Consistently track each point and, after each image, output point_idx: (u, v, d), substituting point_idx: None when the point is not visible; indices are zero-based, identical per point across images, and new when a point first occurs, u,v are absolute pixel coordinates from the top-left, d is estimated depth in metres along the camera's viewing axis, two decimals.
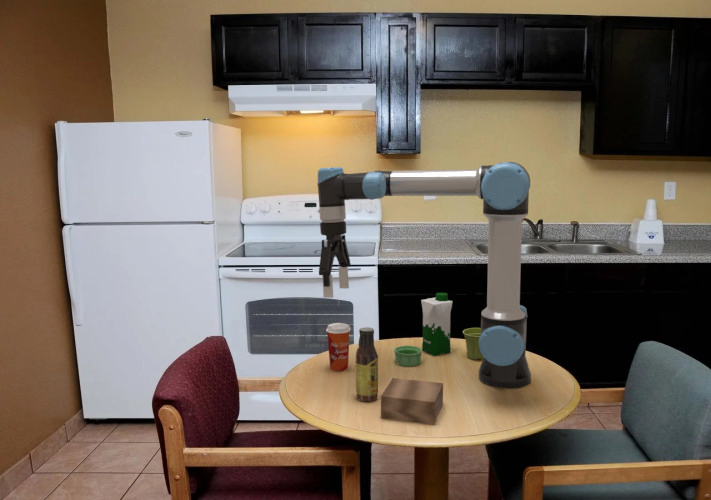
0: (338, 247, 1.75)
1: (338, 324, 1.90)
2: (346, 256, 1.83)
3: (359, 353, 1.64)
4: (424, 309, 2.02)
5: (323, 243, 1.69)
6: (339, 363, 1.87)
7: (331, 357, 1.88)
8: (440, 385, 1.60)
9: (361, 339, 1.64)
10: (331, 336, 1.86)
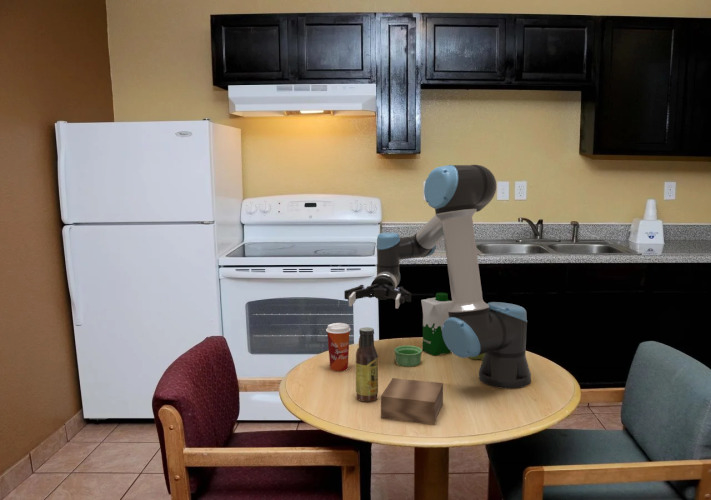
0: (382, 288, 1.85)
1: (338, 324, 1.90)
2: None
3: (359, 353, 1.64)
4: (424, 309, 2.02)
5: None
6: (339, 363, 1.87)
7: (331, 357, 1.88)
8: (440, 385, 1.60)
9: (361, 339, 1.64)
10: (331, 336, 1.86)
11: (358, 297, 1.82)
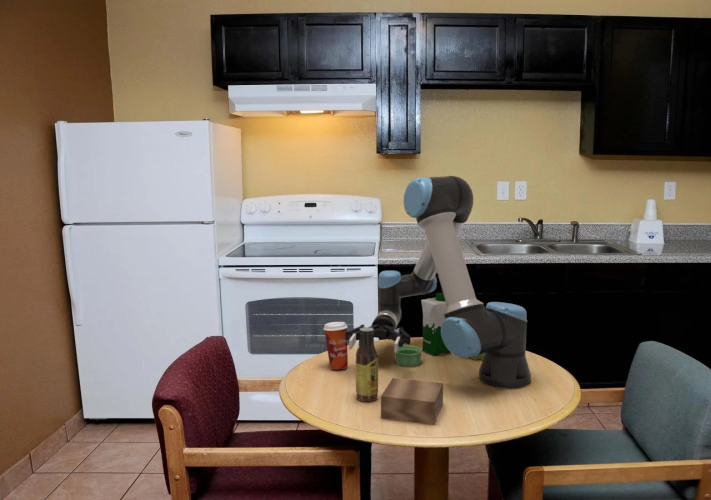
0: (382, 329, 1.88)
1: (335, 323, 1.91)
2: (403, 335, 1.83)
3: (359, 353, 1.64)
4: (424, 309, 2.02)
5: None
6: (339, 360, 1.88)
7: (330, 355, 1.88)
8: (440, 385, 1.60)
9: (361, 339, 1.64)
10: (328, 334, 1.87)
11: (358, 338, 1.85)
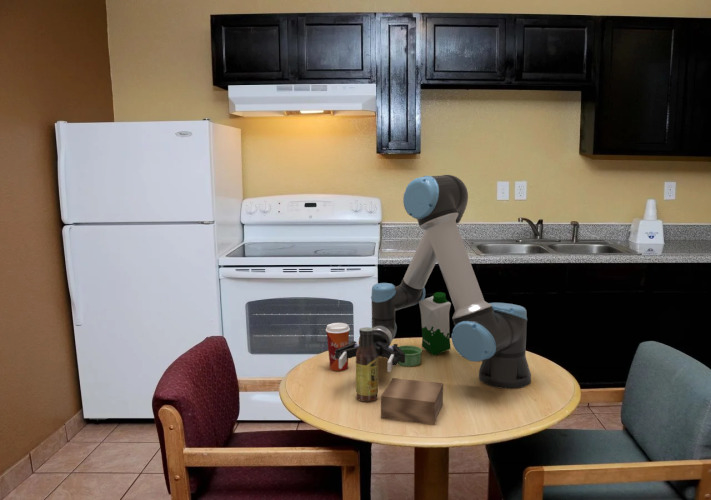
0: (375, 346, 1.76)
1: (337, 324, 1.90)
2: (398, 352, 1.71)
3: (359, 353, 1.64)
4: (422, 312, 1.98)
5: None
6: None
7: (331, 357, 1.88)
8: (440, 385, 1.60)
9: (361, 339, 1.64)
10: (330, 336, 1.86)
11: (350, 356, 1.73)
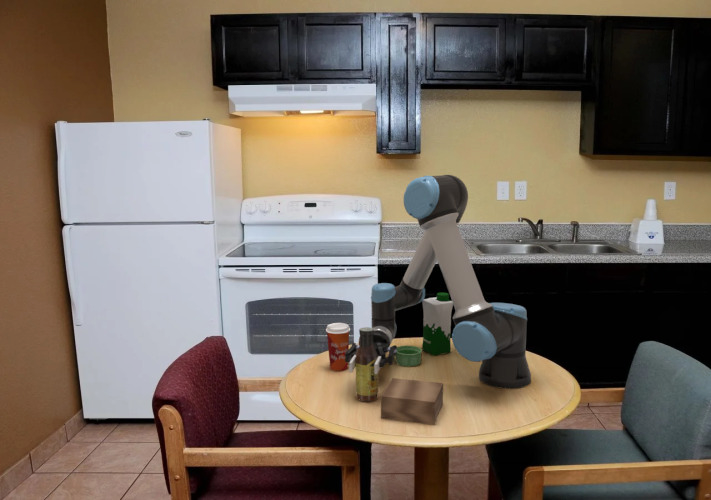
0: (375, 346, 1.75)
1: (337, 324, 1.90)
2: None
3: (359, 353, 1.64)
4: (425, 309, 2.02)
5: None
6: (340, 363, 1.87)
7: (331, 357, 1.88)
8: (440, 385, 1.60)
9: (361, 339, 1.64)
10: (331, 336, 1.86)
11: None
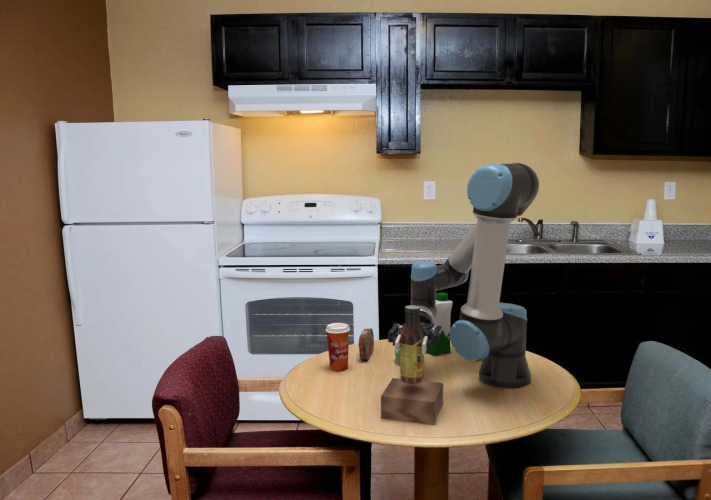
0: None
1: (337, 324, 1.90)
2: (434, 334, 1.59)
3: (405, 332, 1.54)
4: None
5: None
6: (340, 362, 1.87)
7: (331, 357, 1.88)
8: (440, 385, 1.60)
9: (407, 317, 1.54)
10: (331, 336, 1.86)
11: None
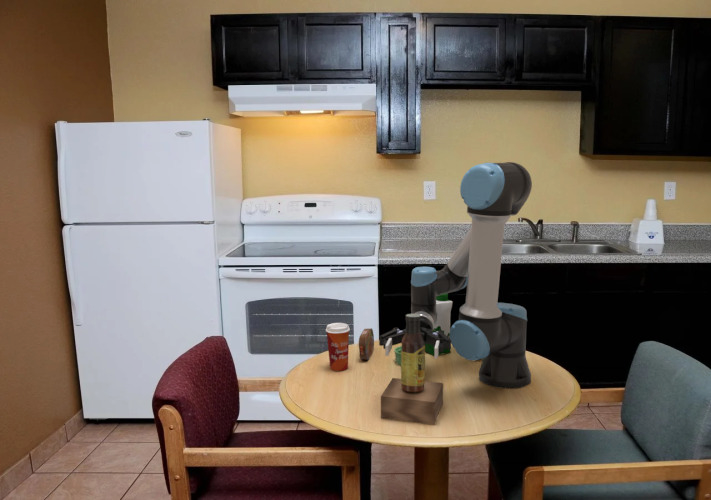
0: None
1: (337, 324, 1.90)
2: (443, 338, 1.60)
3: (405, 340, 1.55)
4: None
5: None
6: (340, 362, 1.87)
7: (331, 357, 1.88)
8: (440, 385, 1.60)
9: (407, 326, 1.55)
10: (331, 336, 1.86)
11: (394, 343, 1.62)
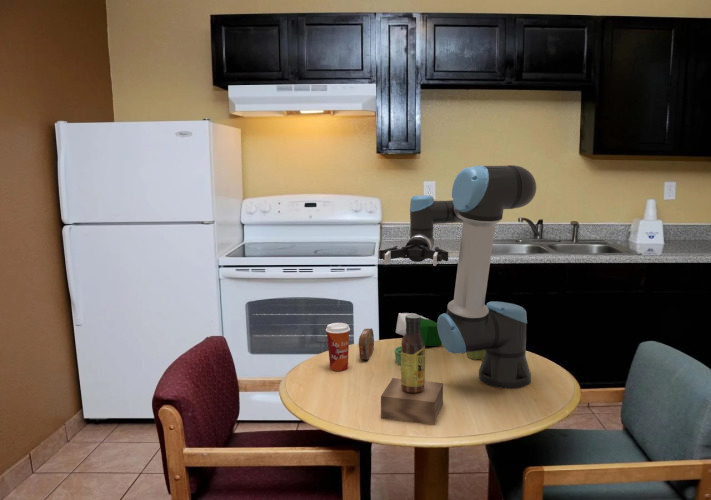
0: (417, 248, 1.79)
1: (337, 324, 1.90)
2: None
3: (405, 341, 1.54)
4: (399, 327, 2.20)
5: None
6: (340, 362, 1.88)
7: (332, 357, 1.88)
8: (440, 385, 1.60)
9: (407, 327, 1.55)
10: (331, 336, 1.86)
11: (393, 257, 1.76)
